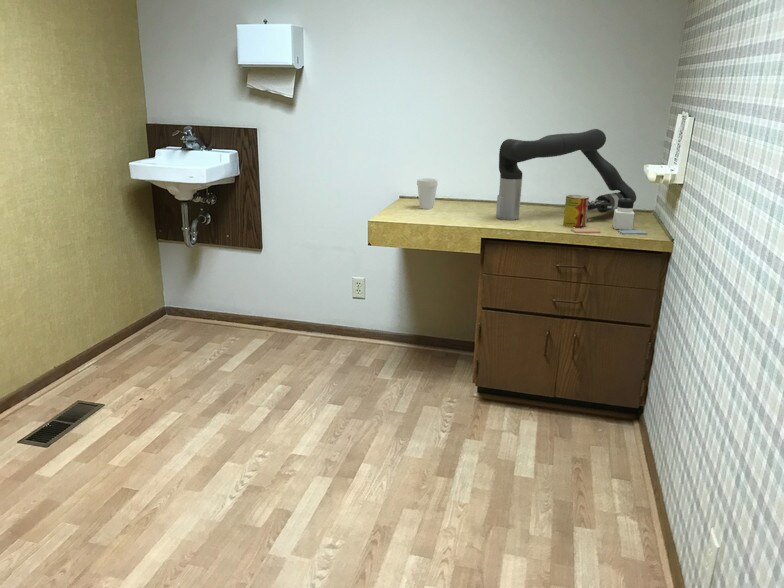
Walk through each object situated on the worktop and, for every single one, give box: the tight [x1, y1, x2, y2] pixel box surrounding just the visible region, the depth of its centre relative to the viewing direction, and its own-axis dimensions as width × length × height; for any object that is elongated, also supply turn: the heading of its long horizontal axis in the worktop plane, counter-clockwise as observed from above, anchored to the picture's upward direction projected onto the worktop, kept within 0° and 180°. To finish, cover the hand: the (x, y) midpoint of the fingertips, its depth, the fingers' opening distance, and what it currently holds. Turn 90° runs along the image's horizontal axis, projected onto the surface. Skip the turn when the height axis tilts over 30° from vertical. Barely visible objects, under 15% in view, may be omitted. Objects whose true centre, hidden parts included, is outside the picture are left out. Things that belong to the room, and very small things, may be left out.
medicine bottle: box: [612, 199, 636, 230], centre depth 260 cm, size 7×7×12 cm
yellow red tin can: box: [562, 194, 590, 229], centre depth 264 cm, size 9×9×12 cm
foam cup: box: [416, 177, 439, 210], centre depth 295 cm, size 10×9×13 cm
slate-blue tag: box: [617, 229, 649, 235], centre depth 253 cm, size 10×5×1 cm, turn 96°
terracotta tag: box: [570, 228, 601, 234], centre depth 254 cm, size 10×5×1 cm, turn 96°
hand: (588, 207), depth 271 cm, fingers closed
